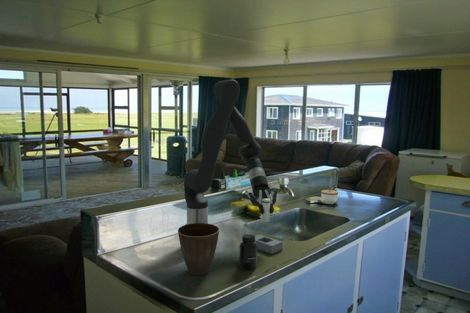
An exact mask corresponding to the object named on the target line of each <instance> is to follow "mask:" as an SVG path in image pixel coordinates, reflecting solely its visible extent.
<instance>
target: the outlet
mask: <svg viewBox="0 0 470 313" xmlns="http://www.w3.org/2000/svg"><path fill="white" fill-rule="evenodd" d="M254 236H255V243H256V244H257V250H259V251H262V252H265V253H267V254H271V255H274V254H276V253H278V252H281V251H282V250H283V241H281V240H278V239H275V238H271V237H268V236H265V235H262V234H256V235H254Z"/></svg>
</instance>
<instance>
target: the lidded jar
mask: <svg viewBox="0 0 470 313" xmlns="http://www.w3.org/2000/svg"><path fill="white" fill-rule="evenodd" d="M320 193H321V194H320V196H321V200H322V202H323V203H324V202H325V203H324V204H326V205H334V204H335V203H336V202H337V200H338V198H339V191H337V190H335V189H333V190H332V188H328V189H322V190H321V192H320Z"/></svg>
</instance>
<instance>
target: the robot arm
mask: <svg viewBox="0 0 470 313" xmlns="http://www.w3.org/2000/svg"><path fill="white" fill-rule="evenodd" d="M240 87H241V86H240V84H239V82H238V81H237V80H235V79H225V80H220V81H219V80H218V81H217V82H216V83H215V84H214V86H213V95H214V96H215V98H216V101H217V103H219V104H218V105H217V108H216V110H215V111H214V112H213V114H212V115H211V117H210V118H208V121H207V122H206V124H205V127H204V129H203V133H202V136H201V139H200V141H201V142H200V144H201V145H200V146H201V154H202V155H201V161H200V164H199V167H198V169H193V168H192V169H190V170H188V171H187V172H186V174H185V175H184V178H183V179H184V180H183V181H184V182H183V186H184V187H183V190H184V200H185V203H186V223H185V224H184V225H187V224H193V223H207V224H209V201H208V199H207V198H206V196H205V195H204V193H206V192H208V191H209V189H210V188H211V185H212V182H213V178H214V174H215V168H216V164H217V161H218V157H219V154H220V151H221V146H222V145H223V141H224V138H225V135H226V131H227V128H228V125H229V123H230V124H231V128H232V130H233V132H234V135H235V136H236V139H237V141H238V142H239V143H241V144H243V143H248V144H245V145H243V146H241V147H240V148H239V149H238V153H239V156H240V158H241V159H242V160H243V163H245V166H246V170H247V173H248V178H249V183H250V186H251V190H252V191H251V192H248V194H247V198H248V200H249V201H250V203H251V204H252V205H253V206H254V207H258V210H259V213H260V214H261V215H262V214H264V208H263V205H262V199H263V198H268V199H270V215H271V214H274V212H275V208H274V205H275V204H276V202H277V197H278V196H277V195H278V191H277V190H275V191H272V190H271V189H270V184H269V183H268V180H267V179H268V178H267V175H266V172H265V170H264V168H263V167H264V166H263V164H262V161H261V160H260V158H257V157H260V156H262V151H263V150H262V147H261V146H260V144H259V143H258V142H257V140H256V139H255V138H254V136H253V135H252V132H251V130H250V127H249V124H248V122H247V120H246V119H245V118H244V116H243V115H242V114H241V112H240V111H239V110H238V109H237V107H236V104H237V102H238V99H239V96H240V92H241V88H240ZM270 195H271V196H270Z"/></svg>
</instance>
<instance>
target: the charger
mask: <svg viewBox="0 0 470 313" xmlns="http://www.w3.org/2000/svg"><path fill="white" fill-rule="evenodd" d="M262 205H263V208H264V214H261V222H263V223H269V222H271V220H270V219H271V218H270V217H271V214H270V199H268V198H263V199H262Z"/></svg>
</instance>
